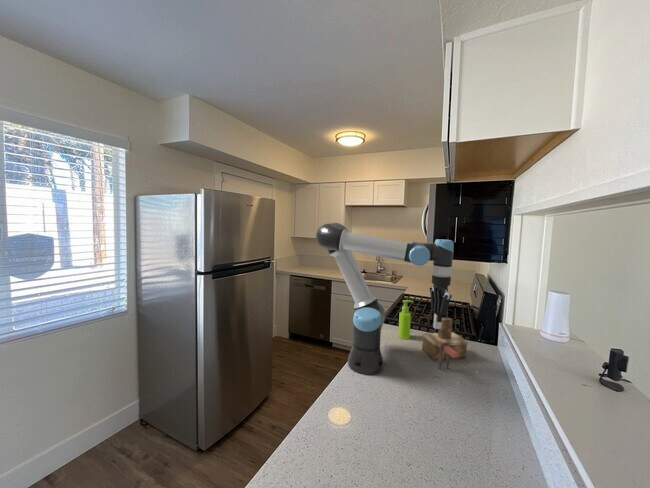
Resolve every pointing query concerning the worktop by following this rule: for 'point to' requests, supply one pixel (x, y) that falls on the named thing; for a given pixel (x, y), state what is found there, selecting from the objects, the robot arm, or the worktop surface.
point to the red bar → (448, 350)
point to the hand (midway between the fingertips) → (436, 328)
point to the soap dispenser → (404, 321)
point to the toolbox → (443, 352)
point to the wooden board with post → (445, 334)
